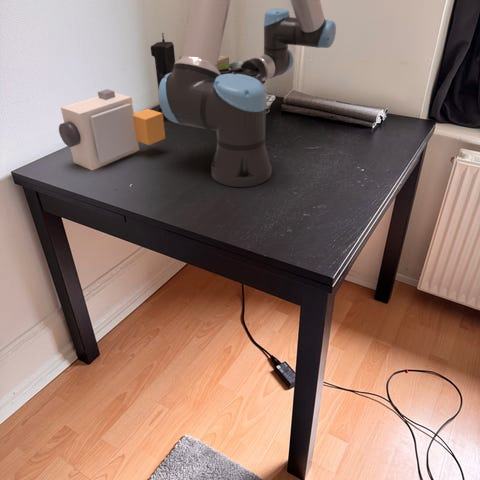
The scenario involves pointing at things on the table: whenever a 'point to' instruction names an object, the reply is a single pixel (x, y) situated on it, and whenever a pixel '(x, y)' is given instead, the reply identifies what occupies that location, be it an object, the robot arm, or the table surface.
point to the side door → (125, 130)
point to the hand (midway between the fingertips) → (211, 88)
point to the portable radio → (163, 61)
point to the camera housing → (89, 127)
